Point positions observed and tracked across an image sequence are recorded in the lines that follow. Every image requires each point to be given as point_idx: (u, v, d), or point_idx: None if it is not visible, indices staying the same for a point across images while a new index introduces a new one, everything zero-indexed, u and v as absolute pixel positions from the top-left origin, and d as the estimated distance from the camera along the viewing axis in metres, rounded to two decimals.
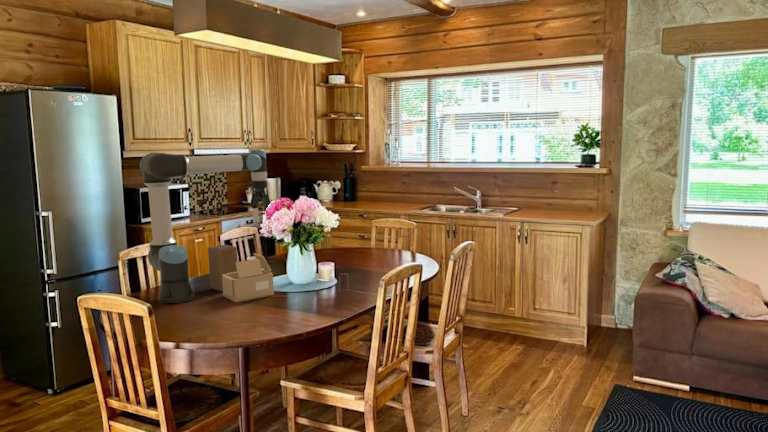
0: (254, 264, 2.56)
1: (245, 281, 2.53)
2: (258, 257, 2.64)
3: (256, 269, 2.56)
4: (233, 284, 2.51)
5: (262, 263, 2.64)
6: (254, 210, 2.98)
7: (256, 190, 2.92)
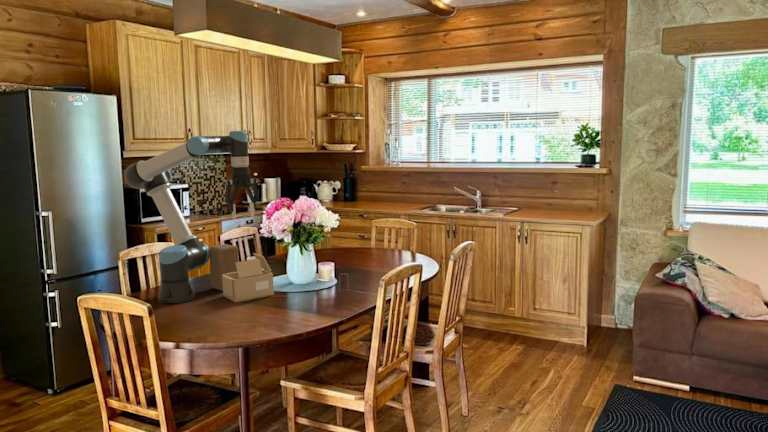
0: (254, 264, 2.56)
1: (245, 281, 2.53)
2: (258, 257, 2.64)
3: (256, 269, 2.56)
4: (233, 284, 2.51)
5: (262, 263, 2.64)
6: (250, 204, 2.60)
7: None
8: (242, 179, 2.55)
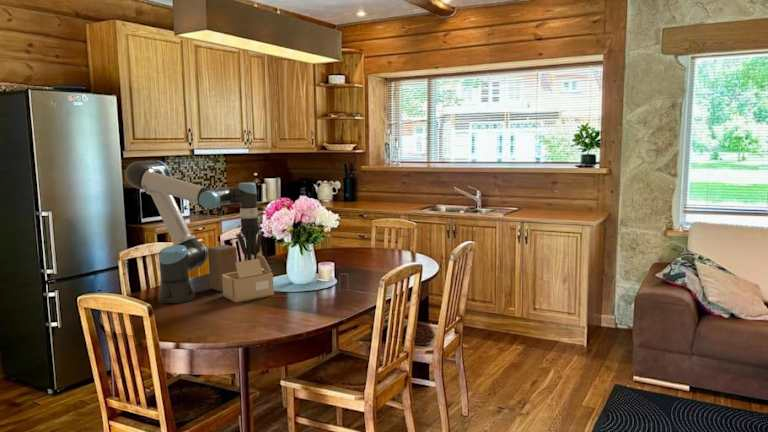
0: (254, 264, 2.56)
1: (245, 281, 2.53)
2: (258, 257, 2.64)
3: (256, 269, 2.56)
4: (233, 284, 2.51)
5: (262, 263, 2.64)
6: None
7: None
8: (251, 230, 2.59)
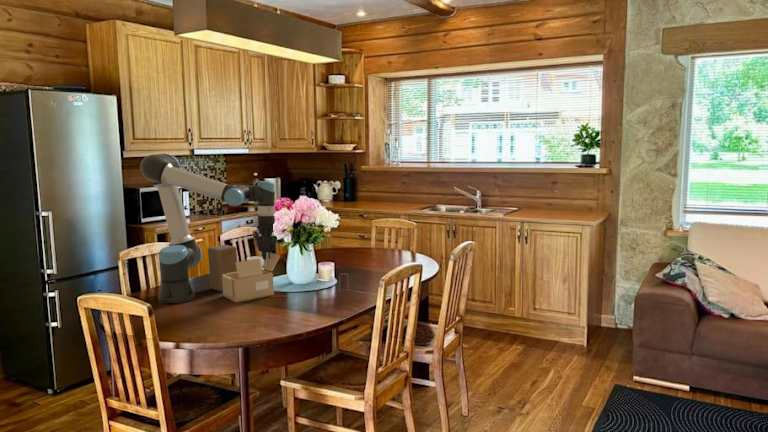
0: (254, 264, 2.56)
1: (245, 281, 2.53)
2: (272, 256, 2.68)
3: (256, 269, 2.56)
4: (233, 284, 2.51)
5: (270, 262, 2.66)
6: None
7: None
8: (267, 227, 2.64)
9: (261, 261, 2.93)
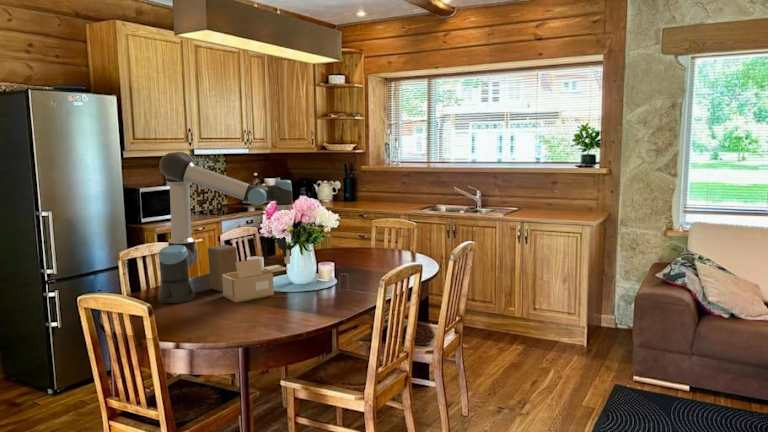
0: (254, 264, 2.56)
1: (245, 281, 2.53)
2: (279, 266, 2.71)
3: (256, 269, 2.56)
4: (233, 284, 2.51)
5: (274, 268, 2.68)
6: None
7: None
8: None
9: (261, 261, 2.93)
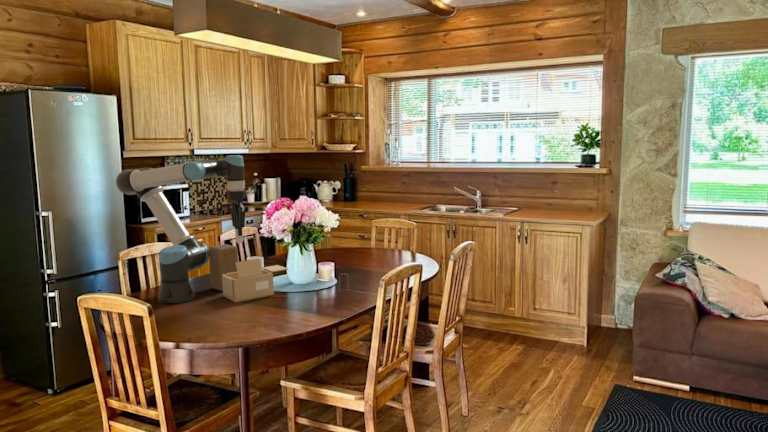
0: (254, 264, 2.56)
1: (245, 281, 2.53)
2: (279, 266, 2.71)
3: (256, 269, 2.56)
4: (233, 284, 2.51)
5: (274, 268, 2.68)
6: None
7: (232, 200, 2.59)
8: None
9: (261, 261, 2.93)
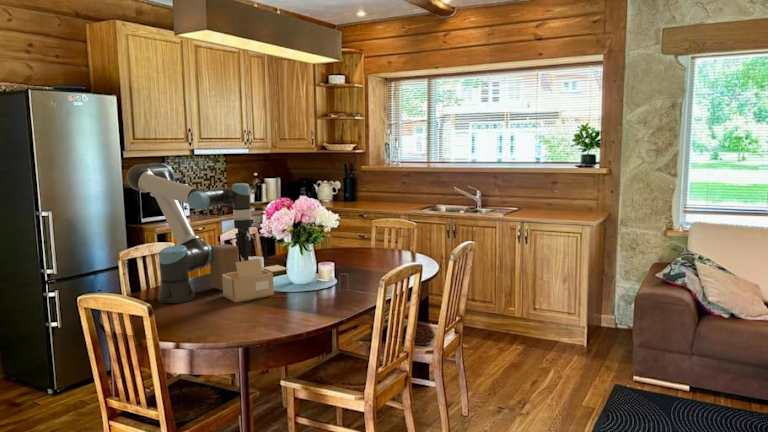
0: (254, 264, 2.56)
1: (245, 281, 2.53)
2: (279, 266, 2.71)
3: (256, 269, 2.56)
4: (233, 284, 2.51)
5: (274, 268, 2.68)
6: None
7: (238, 228, 2.56)
8: None
9: (261, 261, 2.93)
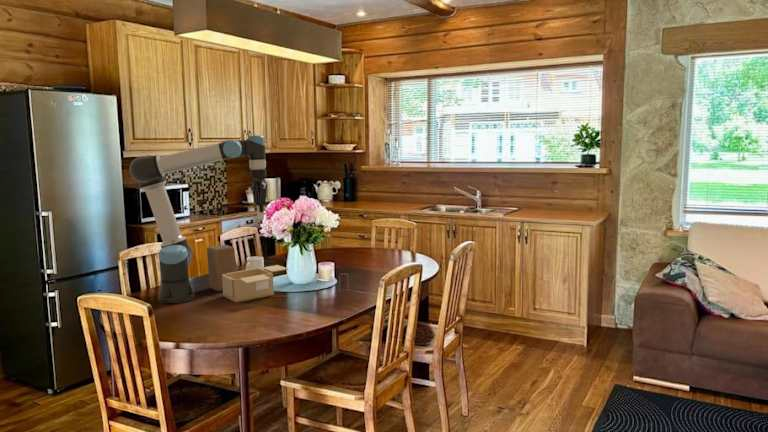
0: None
1: None
2: (279, 266, 2.71)
3: None
4: (233, 284, 2.51)
5: (274, 268, 2.68)
6: None
7: (254, 178, 2.72)
8: None
9: (261, 261, 2.93)
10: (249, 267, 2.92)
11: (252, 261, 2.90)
